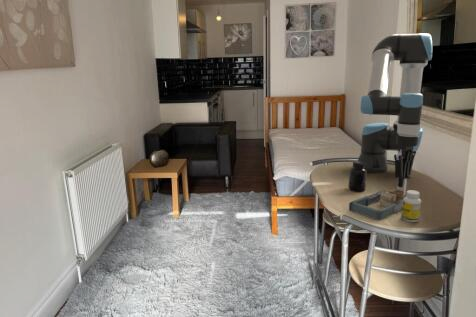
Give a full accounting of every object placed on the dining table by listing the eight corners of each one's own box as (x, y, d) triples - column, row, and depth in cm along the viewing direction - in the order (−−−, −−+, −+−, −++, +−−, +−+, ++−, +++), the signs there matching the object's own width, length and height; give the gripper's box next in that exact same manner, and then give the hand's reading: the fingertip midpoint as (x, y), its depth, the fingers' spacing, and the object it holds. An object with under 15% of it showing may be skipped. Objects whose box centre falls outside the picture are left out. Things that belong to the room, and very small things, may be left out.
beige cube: (385, 201, 138) (386, 192, 137) (395, 204, 135) (396, 194, 134) (379, 204, 136) (380, 194, 135) (389, 207, 133) (390, 197, 132)
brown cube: (393, 198, 142) (394, 188, 141) (403, 201, 139) (404, 191, 138) (387, 200, 139) (388, 190, 139) (397, 203, 136) (398, 193, 136)
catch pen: (365, 203, 137) (366, 195, 136) (395, 212, 128) (396, 204, 127) (349, 210, 130) (349, 202, 129) (379, 220, 121) (380, 212, 121)
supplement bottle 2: (398, 216, 125) (401, 189, 122) (413, 215, 125) (416, 189, 123) (406, 222, 119) (409, 195, 117) (422, 222, 120) (425, 194, 117)
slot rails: (382, 195, 144) (382, 190, 144) (412, 204, 135) (412, 198, 135) (362, 204, 136) (363, 197, 135) (393, 213, 127) (393, 207, 126)
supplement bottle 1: (366, 192, 148) (368, 164, 145) (349, 191, 149) (351, 163, 146) (364, 187, 155) (366, 160, 152) (347, 186, 156) (349, 159, 153)
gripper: (406, 131, 142) (399, 188, 148) (389, 135, 134) (383, 195, 140) (425, 134, 136) (418, 193, 142) (409, 138, 128) (402, 200, 134)
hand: (400, 194), depth 141 cm, fingers closed
